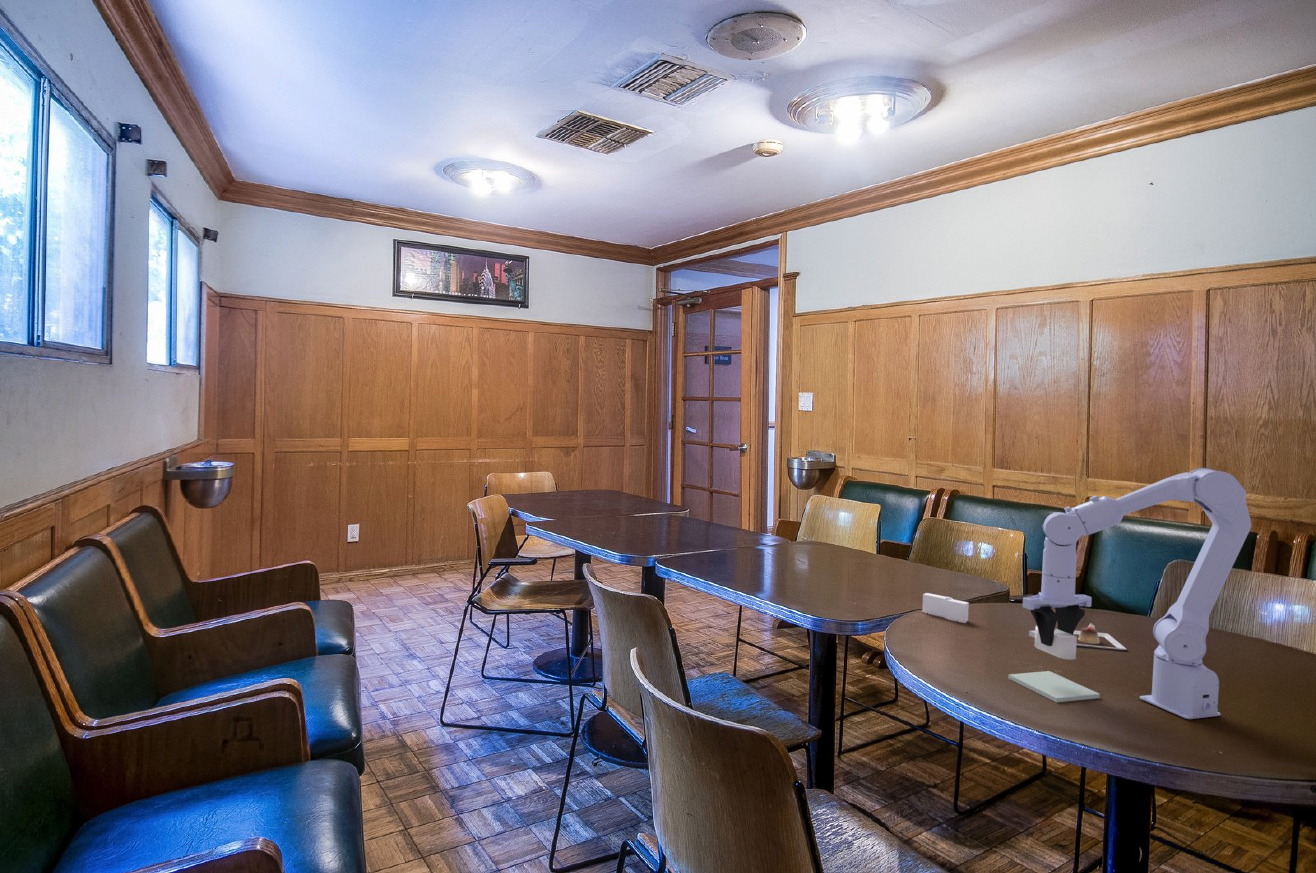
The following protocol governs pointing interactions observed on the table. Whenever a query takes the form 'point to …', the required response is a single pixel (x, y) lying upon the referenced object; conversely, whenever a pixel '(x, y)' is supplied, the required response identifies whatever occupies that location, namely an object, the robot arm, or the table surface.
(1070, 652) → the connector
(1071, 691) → the sage pad
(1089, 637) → the dessert
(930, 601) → the white upright tiles
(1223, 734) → the table surface
